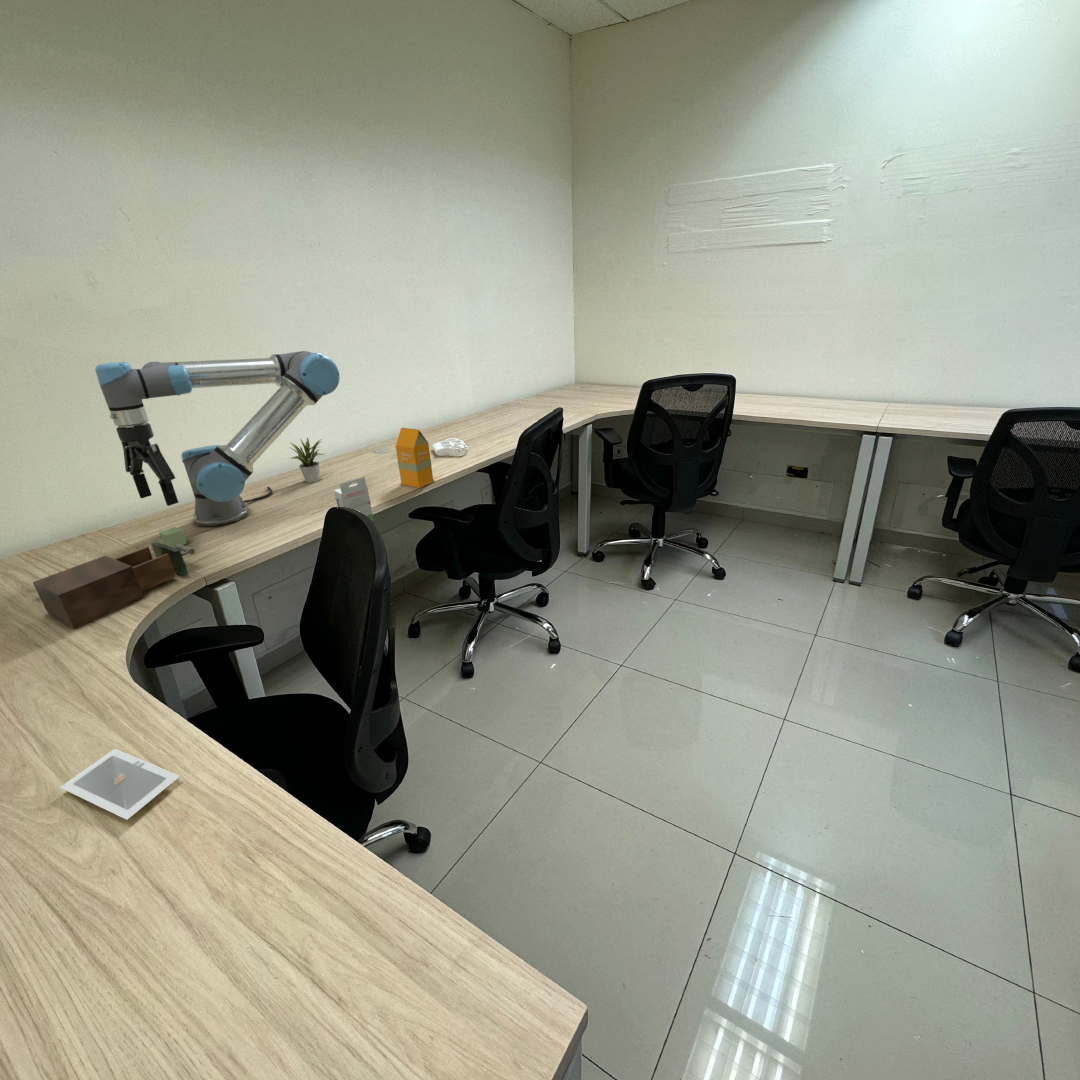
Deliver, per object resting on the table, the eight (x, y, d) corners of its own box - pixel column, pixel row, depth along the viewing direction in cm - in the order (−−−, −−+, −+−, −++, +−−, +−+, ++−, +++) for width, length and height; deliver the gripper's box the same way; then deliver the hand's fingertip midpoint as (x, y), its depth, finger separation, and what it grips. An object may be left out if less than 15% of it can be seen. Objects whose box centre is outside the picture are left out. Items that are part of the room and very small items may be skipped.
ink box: (366, 517, 172) (358, 472, 166) (374, 521, 169) (366, 476, 163) (340, 526, 167) (330, 480, 161) (348, 530, 164) (338, 483, 157)
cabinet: (117, 586, 138) (105, 555, 134) (144, 597, 132) (131, 566, 128) (48, 614, 127) (32, 582, 123) (74, 629, 121) (58, 595, 117)
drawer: (180, 557, 149) (172, 535, 146) (204, 566, 144) (196, 543, 141) (107, 587, 135) (97, 563, 132) (131, 598, 130) (121, 573, 127)
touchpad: (129, 825, 75) (124, 814, 74) (62, 792, 81) (56, 782, 80) (182, 781, 82) (178, 770, 81) (117, 753, 87) (112, 743, 86)
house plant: (339, 481, 206) (330, 438, 199) (300, 489, 199) (290, 445, 192) (328, 472, 217) (320, 431, 210) (291, 480, 210) (281, 437, 203)
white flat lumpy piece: (431, 448, 243) (464, 444, 247) (437, 459, 227) (472, 454, 231) (430, 440, 241) (463, 436, 245) (436, 451, 226) (471, 446, 230)
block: (178, 540, 162) (174, 526, 160) (187, 543, 160) (182, 529, 158) (163, 546, 159) (158, 532, 157) (172, 549, 157) (167, 535, 155)
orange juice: (419, 488, 196) (411, 432, 187) (401, 484, 200) (392, 429, 192) (433, 481, 202) (426, 427, 193) (416, 478, 206) (408, 424, 197)
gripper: (93, 423, 147) (121, 498, 156) (142, 432, 136) (170, 512, 145) (123, 417, 153) (149, 489, 162) (173, 425, 141) (198, 502, 150)
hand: (159, 500), depth 153 cm, fingers open, 13 cm apart
